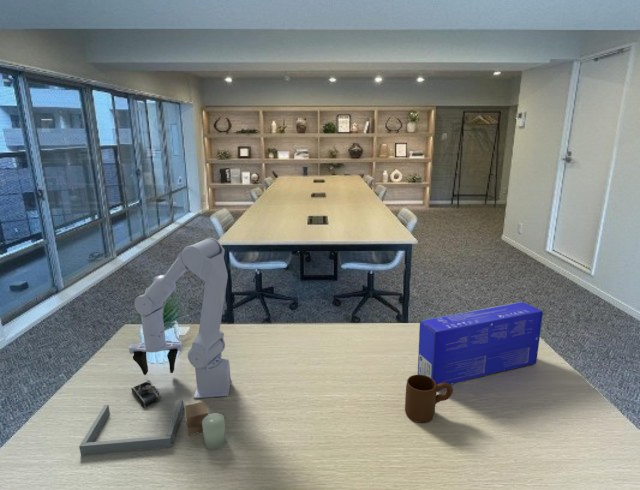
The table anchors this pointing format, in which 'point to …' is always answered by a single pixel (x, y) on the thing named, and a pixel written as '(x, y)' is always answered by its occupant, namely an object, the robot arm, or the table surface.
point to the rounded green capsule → (214, 431)
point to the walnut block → (195, 417)
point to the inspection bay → (127, 444)
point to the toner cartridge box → (479, 342)
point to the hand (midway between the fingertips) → (159, 372)
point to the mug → (424, 397)
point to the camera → (146, 394)
